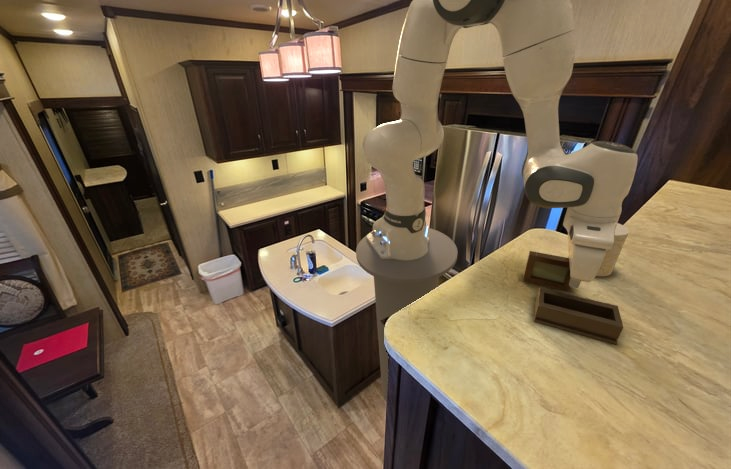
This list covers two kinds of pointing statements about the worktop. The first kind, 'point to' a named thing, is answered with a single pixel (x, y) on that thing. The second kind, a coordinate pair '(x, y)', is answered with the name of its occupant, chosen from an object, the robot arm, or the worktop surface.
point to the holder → (578, 315)
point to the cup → (613, 251)
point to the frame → (548, 270)
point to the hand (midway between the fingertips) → (572, 273)
